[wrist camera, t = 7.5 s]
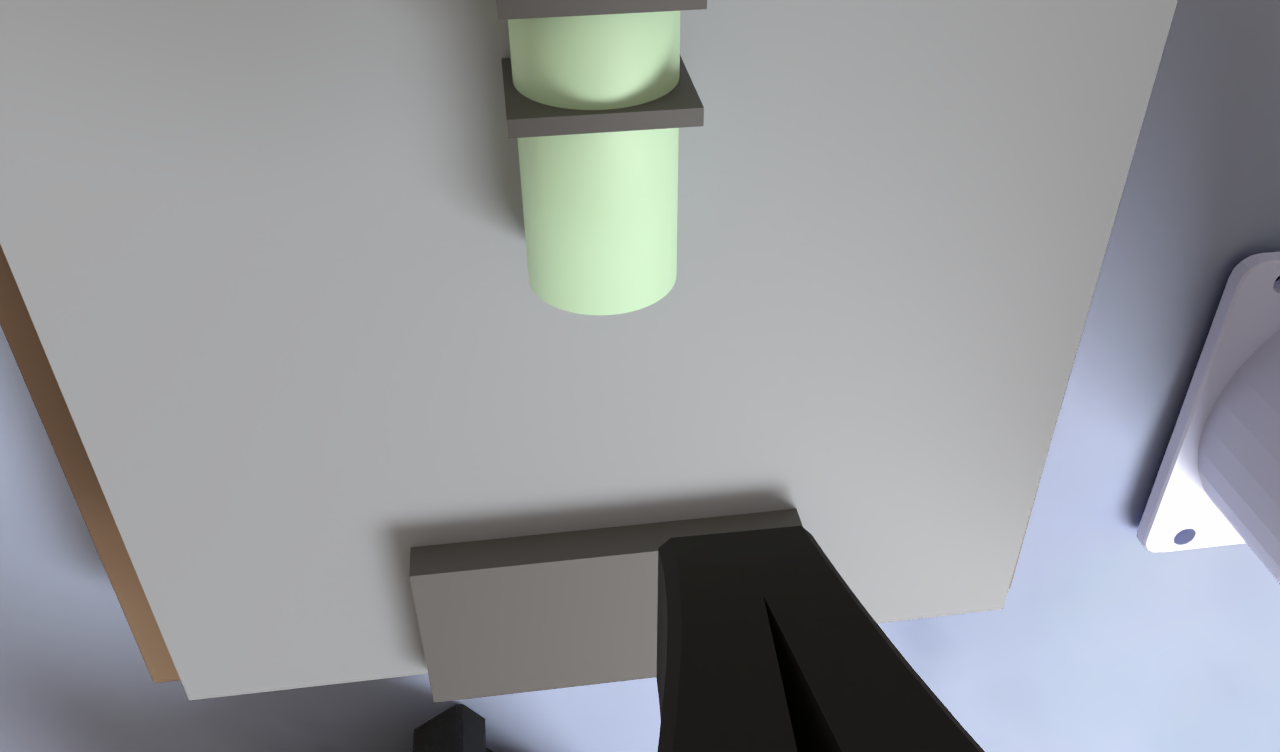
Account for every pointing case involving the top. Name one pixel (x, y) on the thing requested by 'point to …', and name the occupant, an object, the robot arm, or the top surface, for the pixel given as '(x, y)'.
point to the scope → (452, 732)
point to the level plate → (472, 404)
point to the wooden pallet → (86, 476)
